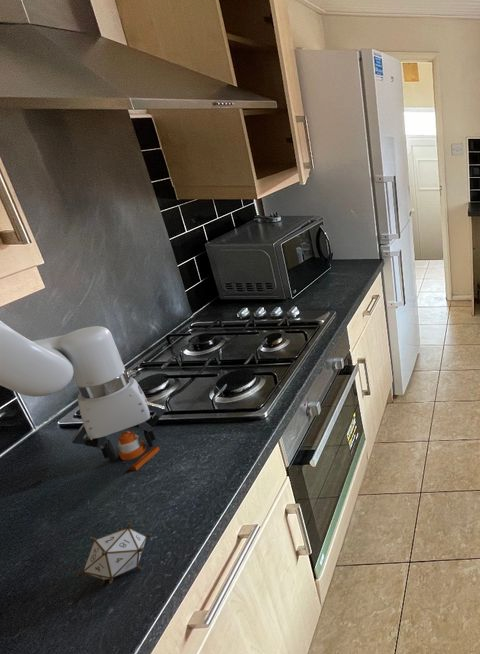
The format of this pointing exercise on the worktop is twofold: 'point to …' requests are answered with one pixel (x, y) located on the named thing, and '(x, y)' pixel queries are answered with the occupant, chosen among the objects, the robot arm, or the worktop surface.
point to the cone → (134, 449)
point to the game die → (115, 554)
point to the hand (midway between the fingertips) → (132, 449)
